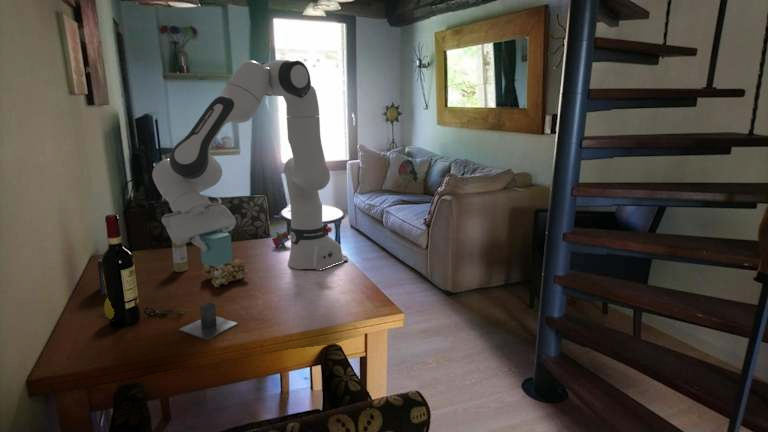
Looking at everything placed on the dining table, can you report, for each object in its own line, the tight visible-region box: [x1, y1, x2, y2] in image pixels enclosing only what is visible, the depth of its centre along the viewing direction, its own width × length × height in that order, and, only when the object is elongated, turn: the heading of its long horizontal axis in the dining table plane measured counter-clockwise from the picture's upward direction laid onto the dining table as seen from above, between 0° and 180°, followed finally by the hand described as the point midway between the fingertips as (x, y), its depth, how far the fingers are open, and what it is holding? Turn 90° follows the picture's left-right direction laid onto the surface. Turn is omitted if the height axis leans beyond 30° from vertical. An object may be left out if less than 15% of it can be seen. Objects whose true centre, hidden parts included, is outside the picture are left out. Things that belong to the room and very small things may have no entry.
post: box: [179, 301, 239, 341], centre depth 119 cm, size 10×10×6 cm
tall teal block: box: [200, 231, 233, 267], centre depth 131 cm, size 6×6×8 cm
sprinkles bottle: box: [170, 238, 189, 273], centre depth 160 cm, size 5×5×14 cm
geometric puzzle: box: [272, 231, 291, 249], centre depth 190 cm, size 7×7×8 cm
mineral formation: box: [202, 258, 250, 288], centre depth 152 cm, size 8×13×15 cm
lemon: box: [103, 297, 115, 320], centre depth 121 cm, size 6×6×8 cm
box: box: [97, 253, 106, 295], centre depth 142 cm, size 8×6×11 cm
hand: (217, 247), depth 130 cm, fingers closed on tall teal block, 6 cm apart
